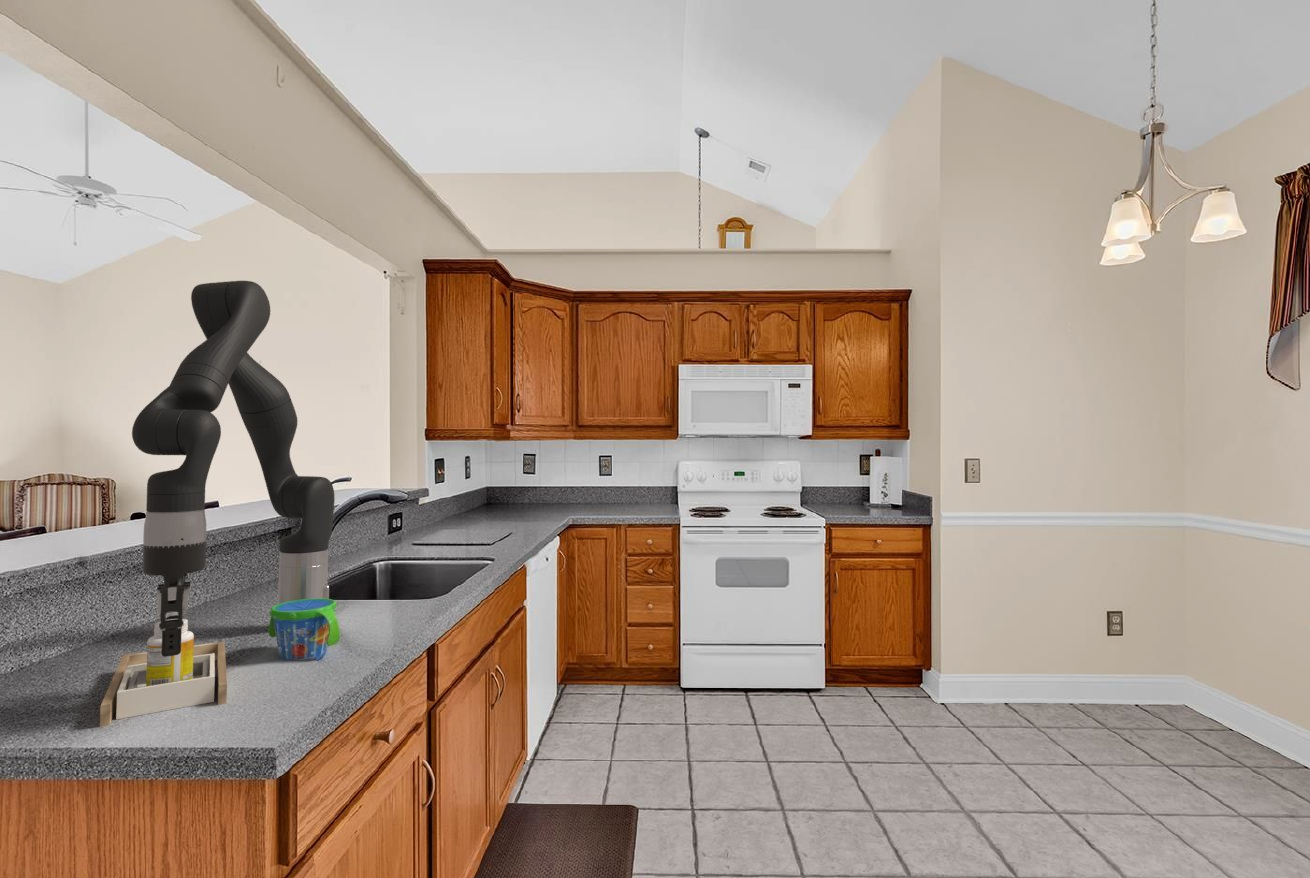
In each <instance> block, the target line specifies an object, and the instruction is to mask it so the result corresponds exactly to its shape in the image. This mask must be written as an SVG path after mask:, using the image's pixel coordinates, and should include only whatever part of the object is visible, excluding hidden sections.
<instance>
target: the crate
mask: <svg viewBox="0 0 1310 878" xmlns="http://www.w3.org/2000/svg"><path fill="white" fill-rule="evenodd" d="M215 661H216V660H215V653H212V654H205V655H198V656H193V679H187V680H181V681H175V682H169V683H162V684H156V685H150V686H146V673H147V663H143V664H136V665H130V666H128V667H127V669H126V672H125V674H124V677H123V679H122V682H121V684H120V687H119V689H118V692H117V707H116V710H115V713H116V714H115V717H116V718H115V719H116V720H122V719H126V718H130V717H138V716H144V715H149V714H153V713H160V712H165V711H169V710H170V711H171V710H176V709H181V708H187V707H193V706H198V705H204V704H207V703H214V702H215V685H216V684H215V683H216V682H215V681H216V678H215V677H216V669H215V666H216V665H215V663H216V662H215Z"/></svg>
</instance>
